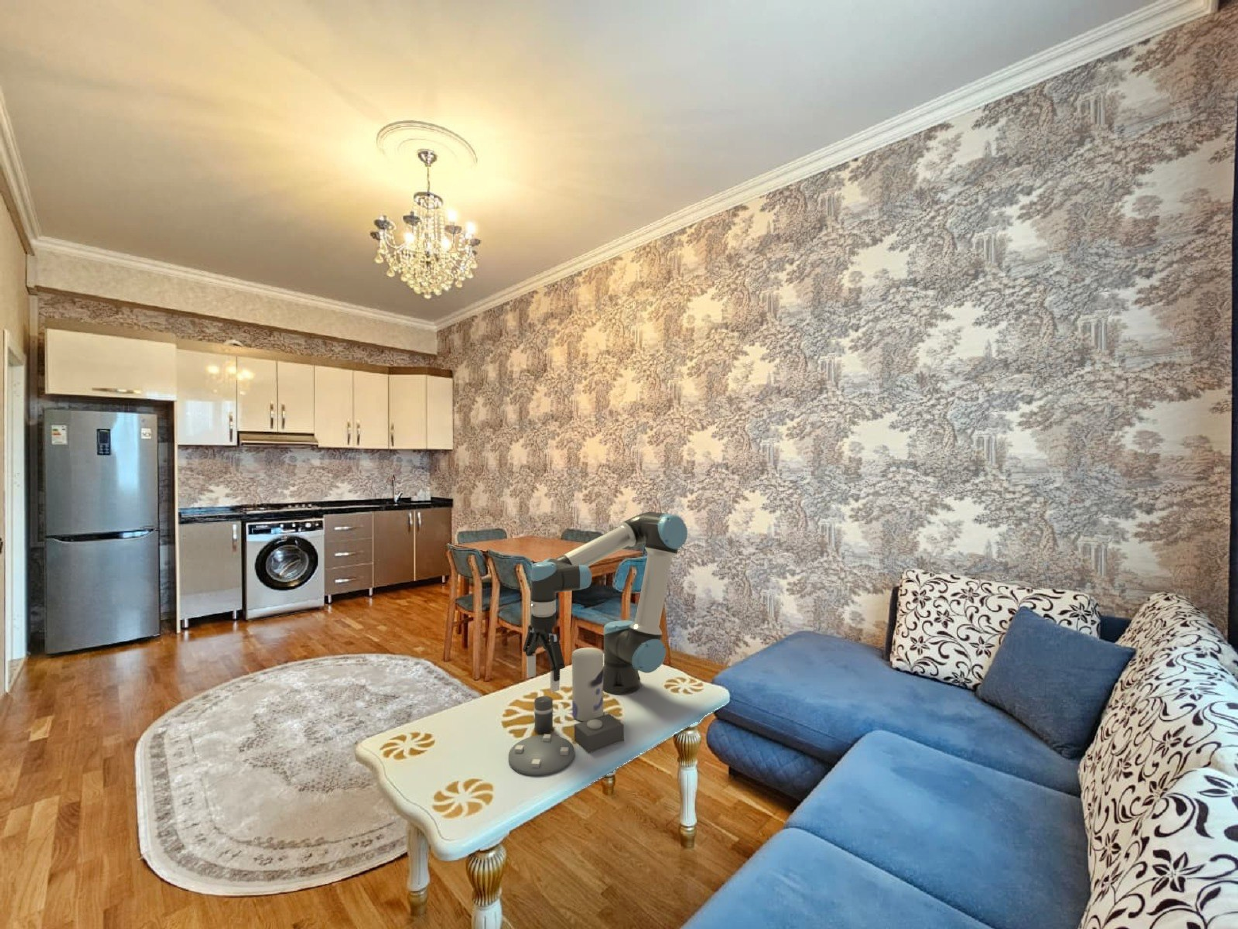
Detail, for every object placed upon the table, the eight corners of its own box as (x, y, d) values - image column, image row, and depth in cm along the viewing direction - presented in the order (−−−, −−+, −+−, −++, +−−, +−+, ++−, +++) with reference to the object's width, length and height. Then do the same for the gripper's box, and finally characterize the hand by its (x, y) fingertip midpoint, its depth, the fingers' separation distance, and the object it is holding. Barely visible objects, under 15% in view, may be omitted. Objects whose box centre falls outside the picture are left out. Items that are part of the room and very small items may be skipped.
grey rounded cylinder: (546, 723, 159) (546, 694, 159) (556, 730, 154) (556, 700, 155) (530, 729, 155) (530, 699, 155) (540, 736, 151) (540, 706, 151)
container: (599, 723, 158) (598, 659, 159) (568, 720, 160) (568, 657, 161) (606, 708, 168) (606, 648, 168) (577, 706, 170) (577, 646, 170)
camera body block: (609, 730, 155) (609, 710, 155) (623, 741, 148) (623, 721, 148) (574, 741, 148) (574, 721, 148) (588, 754, 142) (588, 733, 142)
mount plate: (551, 732, 153) (551, 725, 153) (587, 758, 139) (587, 750, 139) (496, 754, 142) (496, 746, 142) (529, 784, 128) (529, 776, 128)
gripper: (512, 607, 162) (511, 674, 162) (555, 625, 143) (554, 701, 143) (533, 603, 167) (532, 668, 167) (576, 620, 148) (576, 694, 148)
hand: (542, 683), depth 155 cm, fingers open, 13 cm apart
